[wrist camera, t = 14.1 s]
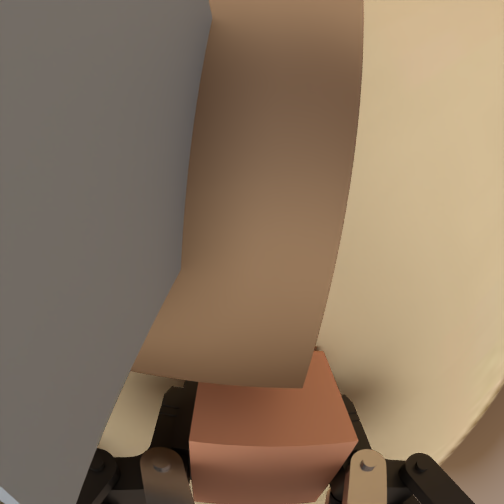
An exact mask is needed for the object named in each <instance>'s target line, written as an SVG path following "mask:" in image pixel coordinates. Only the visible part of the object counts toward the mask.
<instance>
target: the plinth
mask: <svg viewBox="0 0 504 504" xmlns="http://www.w3.org/2000/svg"><path fill="white" fill-rule="evenodd" d="M209 5H210V9H211V14H212V22H211V26H210V31H209V36H208V41H207V46H206V51H205V56H204V62H203V67H202V73H201V79H200V85H199V91H198V98H197V104H196V111H195V118H194V125H193V133H192V141H191V149H190V158H189V167H188V176H187V187H186V198H185V210H184V223H183V238H182V255H181V270H180V272H179V274H178V276H177V278H176V280H175V282H174V283H173V285H172V287H171V289H170V291H169V293H168V295H167V297H166V299H165V301H164V303H163V305H162V307H161V309H160V310H159V312H158V314H157V316H156V318H155V320H154V322H153V324H152V326H151V328H150V330H149V332H148V335H147V337H146V339H145V341H144V343H143V345H142V347H141V349H140V351H139V353H138V355H137V357H136V359H135V362H134V364H133V366H132V368H131V370H130V371H134V372H139V373H144V374H149V375H155V376H161V377H167V378H174V379H180V380H188V381H195V382H204V383H213V384H223V385H235V386H249V387H268V388H303V385H304V382H305V379H306V375H307V372H308V369H309V365H310V362H311V359H312V355H313V352H314V348H315V345H316V341H317V337H318V334H319V330H320V326H321V322H322V319H323V315H324V311H325V307H326V303H327V299H328V294H329V290H330V286H331V282H332V277H333V273H334V268H335V264H336V259H337V254H338V249H339V244H340V239H341V234H342V229H343V223H344V218H345V212H346V206H347V200H348V194H349V188H350V181H351V175H352V168H353V160H354V153H355V145H356V136H357V127H358V117H359V106H360V94H361V80H362V63H363V30H364V6H363V0H209Z"/></svg>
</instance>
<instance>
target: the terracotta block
mask: <svg viewBox="0 0 504 504" xmlns="http://www.w3.org/2000/svg"><path fill="white" fill-rule="evenodd" d="M357 442H358V438H357V435H356V433H355V430H354V428H353V425H352V422H351V420H350V417H349V414H348V412H347V409H346V407H345V404H344V402H343V399H342V397H341V394H340V391H339V389H338V386H337V384H336V381H335V379H334V376H333V374H332V371H331V369H330V366H329V364H328V361H327V359H326V356H325V354H324V352H323V351H314V352H313V355H312V359H311V362H310V365H309V369H308V372H307V375H306V379H305V382H304V385H303V388H268V387H249V386H235V385H223V384H213V383H204V382H198V387H197V393H196V399H195V405H194V412H193V418H192V424H191V431H190V437H189V450H190V465H191V477H192V488H193V498H194V501H196V502H205V503H216V504H298V503H309V502H315V501H316V500H317V499H318V497H319V496H320V495H321V494H322V492H323V491H324V490H325V489H326V487H327V486H328V485H329V483H330V482H331V481H332V479H333V478H334V476H335V475H336V474H337V472H338V471H339V470H340V468H341V467H342V465H343V464H344V462H345V461H346V459H347V458H348V456H349V455H350V453H351V452H352V450H353V449H354V447H355V446H356V444H357Z"/></svg>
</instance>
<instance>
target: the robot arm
mask: <svg viewBox="0 0 504 504" xmlns="http://www.w3.org/2000/svg"><path fill="white" fill-rule="evenodd" d="M197 387H198V382H195V381H188V380H185V384H184V388H180V387H174V386H172V387H171V388H170V389H169V390H168V391H167V392H166V393H165V394H164V398H163V401H162V406H161V409H160V412H159V416H158V420H157V423H156V427H155V431H154V434H153V438H152V442H151V445H150V447H149V448H148V450H147V451H145V452H144V453H143V454H141V455H138V456H135V457H113V456H112V455H111V454H110V453H108V452H107V451H105V450H102V449H98V448H97V449H96V451H95V454H94V456H93V459H92V462H91V464H90V467H89V469H88V472H87V475H86V477H85V480H84V483H83V486H82V488H81V491H80V494H79V497H78V500H77V503H76V504H195V503H194V500H193V497H192V493H191V490H190V486H189V481H190V480H192V477H191V465H190V450H189V437H190V431H191V424H192V418H193V412H194V405H195V399H196V393H197ZM341 397H342V399H343V402H344V404H345V407H346V409H347V412H348V414H349V417H350V420H351V422H352V425H353V428H354V430H355V433H356V435H357V438H358V442H357V444H356V446H355V447H354V449H353V450H352V452H351V453H350V455H349V456H348V458H347V459H346V461H345V462H344V464H343V465H342V467H341V468H340V470H339V471H338V472H337V474H336V475H335V476H334V478H333V479H332V481H331V482H330V483H329V484H330V487H329V489H328V491H327V495H326V501H325V504H420V503H421V504H475V503H473V501H472V500H471V499H470V498H469V497H468V496H467V495H466V494H465V493H464V492H463V491H462V490H461V489H460V487H459V486H458V485H457V484H455V482H454V481H453V480H452V479H451V478H450V477H449V476H448V475H447V474H446V473H445V472H444V471H443V469H442V468H441V467H440V466H439V465H438V464H437V463H436V462H435V461H434V460H433V459H432V458H431V457H430V456H428V455H426V454H423V453H416V454H413V455H411V456H410V457H409V458H408V459H407V460H406V461H399V460H387V459H384V457H383V456H382V455H381V454H380V453H379V452H377V451H375V450H372V449H371V447H370V444H369V442H368V439H367V437H366V434H365V432H364V429H363V427H362V424H361V422H360V421H359V420H360V419H359V417H358V415H357V414H356V410H355V407H354V405H353V403H352V402H351V401H350V400H349V399H348V398H347V397H346V396H345V395H341ZM413 494H414V495H413ZM414 496H415V497H416V498H417V499H418V500H419V501H418V500H417V499H416V498H415V497H414Z"/></svg>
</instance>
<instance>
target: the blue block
mask: <svg viewBox="0 0 504 504" xmlns="http://www.w3.org/2000/svg"><path fill="white" fill-rule="evenodd" d="M211 22H212V14H211V9H210V5H209V0H0V501H1V502H3V503H4V504H76V503H77V500H78V497H79V494H80V491H81V488H82V486H83V483H84V480H85V477H86V475H87V472H88V469H89V467H90V464H91V462H92V459H93V456H94V454H95V451H96V449H97V446H98V444H99V441H100V439H101V436H102V434H103V432H104V429H105V427H106V424H107V422H108V420H109V417H110V415H111V413H112V410H113V408H114V406H115V403H116V401H117V399H118V397H119V394H120V392H121V390H122V388H123V385H124V383H125V381H126V379H127V377H128V374H129V372H130V370H131V368H132V366H133V364H134V362H135V359H136V357H137V355H138V353H139V351H140V349H141V347H142V345H143V343H144V341H145V339H146V337H147V335H148V332H149V330H150V328H151V326H152V324H153V322H154V320H155V318H156V316H157V314H158V312H159V310H160V309H161V307H162V305H163V303H164V301H165V299H166V297H167V295H168V293H169V291H170V289H171V287H172V285H173V283H174V282H175V280H176V278H177V276H178V274H179V272H180V270H181V255H182V238H183V223H184V210H185V198H186V187H187V176H188V167H189V158H190V149H191V141H192V133H193V125H194V118H195V111H196V104H197V98H198V91H199V85H200V79H201V73H202V67H203V62H204V56H205V51H206V46H207V41H208V36H209V31H210V26H211Z"/></svg>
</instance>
